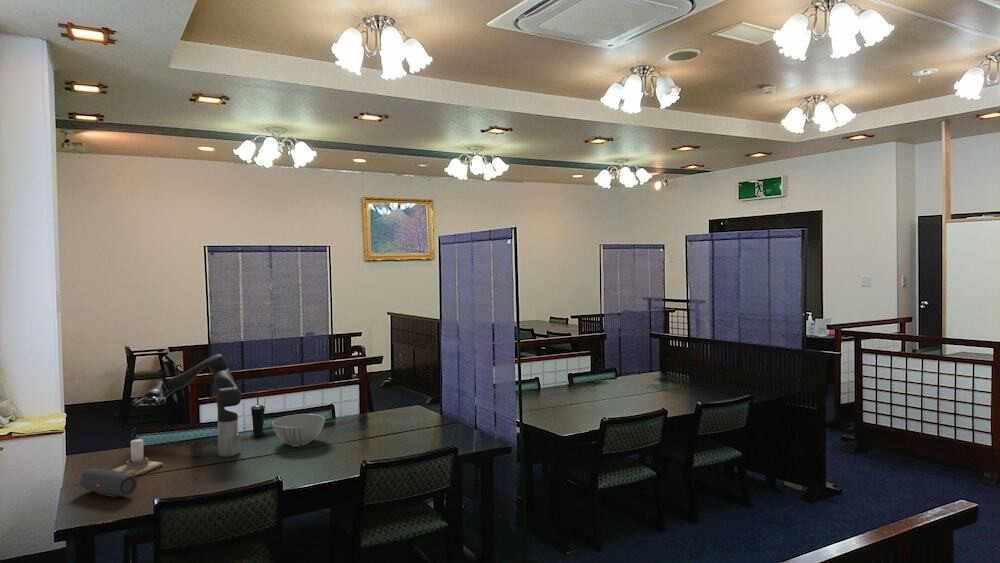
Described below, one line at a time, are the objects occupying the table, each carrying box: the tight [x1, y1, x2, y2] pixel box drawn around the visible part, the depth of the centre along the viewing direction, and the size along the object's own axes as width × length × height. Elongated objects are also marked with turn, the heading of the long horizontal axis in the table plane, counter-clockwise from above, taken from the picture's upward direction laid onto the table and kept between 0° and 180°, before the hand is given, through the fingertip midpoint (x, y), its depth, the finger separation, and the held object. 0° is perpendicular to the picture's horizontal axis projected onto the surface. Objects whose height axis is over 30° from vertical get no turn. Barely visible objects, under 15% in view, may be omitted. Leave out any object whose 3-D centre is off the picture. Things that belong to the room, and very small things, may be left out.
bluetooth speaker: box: [79, 468, 138, 497], centre depth 259 cm, size 23×9×10 cm, turn 69°
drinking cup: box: [250, 395, 266, 433], centre depth 351 cm, size 8×8×20 cm
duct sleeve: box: [130, 438, 145, 463], centre depth 289 cm, size 5×5×12 cm
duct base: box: [110, 456, 164, 477], centre depth 289 cm, size 15×15×4 cm
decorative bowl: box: [271, 413, 326, 446], centre depth 330 cm, size 27×27×12 cm
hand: (146, 404), depth 306 cm, fingers open, 8 cm apart
